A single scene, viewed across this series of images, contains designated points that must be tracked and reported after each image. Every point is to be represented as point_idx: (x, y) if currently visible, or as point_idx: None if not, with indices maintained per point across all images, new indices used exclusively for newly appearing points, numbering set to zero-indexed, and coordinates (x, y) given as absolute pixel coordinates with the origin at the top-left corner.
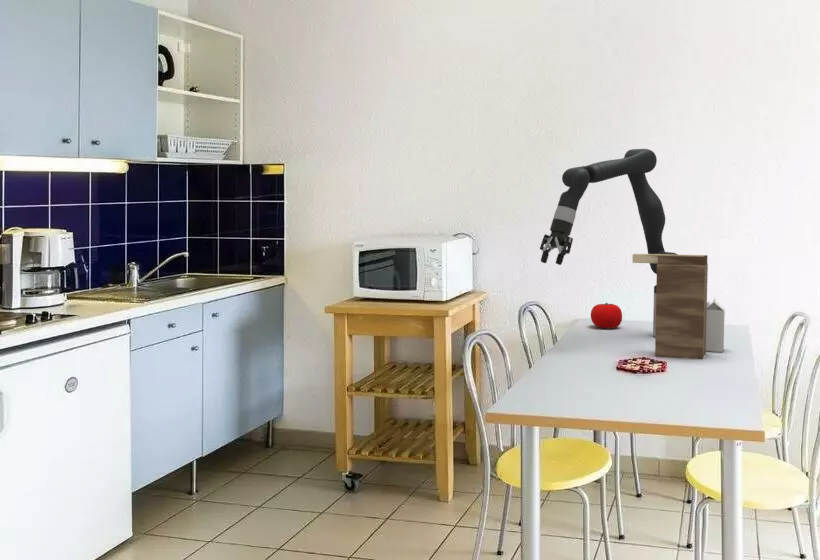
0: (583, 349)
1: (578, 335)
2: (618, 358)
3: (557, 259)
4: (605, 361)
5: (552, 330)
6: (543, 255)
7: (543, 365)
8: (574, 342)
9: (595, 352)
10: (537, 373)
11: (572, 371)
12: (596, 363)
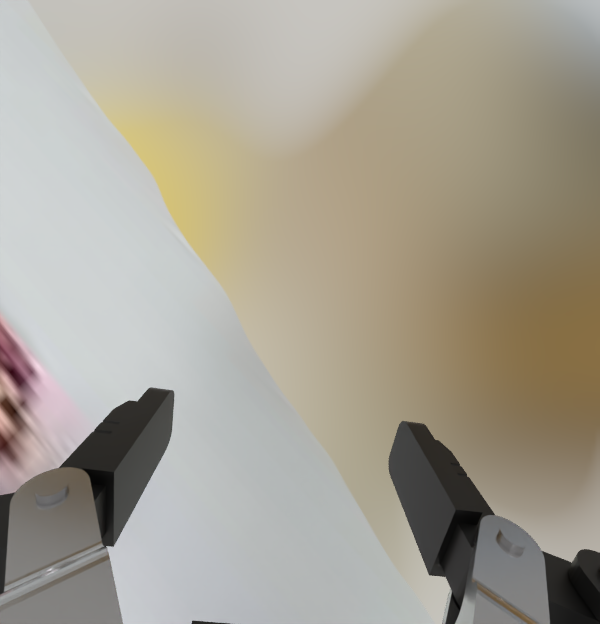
0: (213, 424)
1: (383, 595)
2: (53, 390)
3: (135, 408)
4: (50, 329)
5: None
6: (432, 467)
7: (127, 171)
8: (308, 492)
9: None
10: (66, 84)
11: (20, 161)
12: (48, 289)
